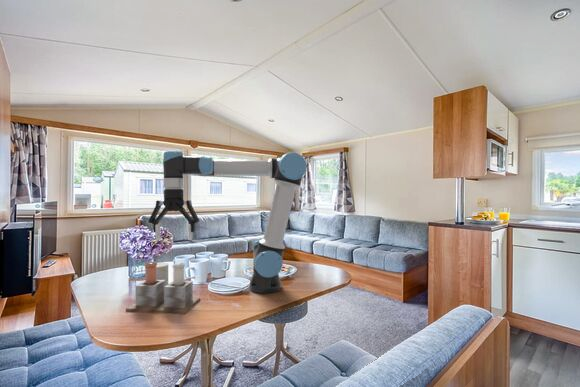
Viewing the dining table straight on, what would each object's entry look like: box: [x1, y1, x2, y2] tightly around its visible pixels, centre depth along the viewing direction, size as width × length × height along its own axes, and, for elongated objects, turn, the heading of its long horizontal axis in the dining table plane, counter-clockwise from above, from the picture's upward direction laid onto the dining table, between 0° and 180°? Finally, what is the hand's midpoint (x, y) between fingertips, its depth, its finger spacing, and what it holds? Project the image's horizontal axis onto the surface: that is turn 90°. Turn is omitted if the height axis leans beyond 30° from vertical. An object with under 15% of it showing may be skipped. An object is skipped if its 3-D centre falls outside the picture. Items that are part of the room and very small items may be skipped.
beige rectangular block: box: [156, 262, 169, 286], centre depth 135 cm, size 8×8×12 cm
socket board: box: [125, 280, 201, 315], centre depth 118 cm, size 24×14×9 cm, turn 84°
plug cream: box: [172, 262, 186, 286], centre depth 117 cm, size 5×5×10 cm
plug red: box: [144, 261, 158, 285], centre depth 118 cm, size 5×5×10 cm
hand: (174, 240), depth 119 cm, fingers open, 13 cm apart
